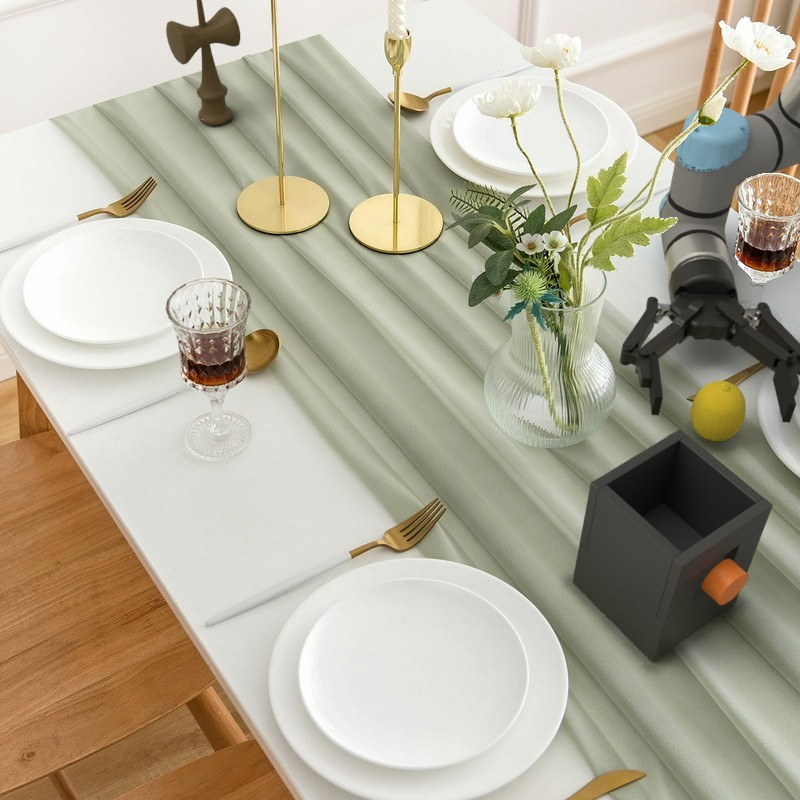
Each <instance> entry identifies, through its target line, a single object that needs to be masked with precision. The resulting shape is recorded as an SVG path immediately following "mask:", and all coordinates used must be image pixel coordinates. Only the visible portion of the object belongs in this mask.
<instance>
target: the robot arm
mask: <svg viewBox="0 0 800 800" xmlns="http://www.w3.org/2000/svg"><path fill="white" fill-rule="evenodd" d="M698 110H699V109H696V110H694V111H693V112H692V113H690V114H689V115H688V116H687V118H686V119H685V121H684V123H683V128H682V131H681V133H683V132H684V131H685V130H686V129H687V128H688V127H689V126H690V124H691V123H692V121H693V119H694V117H695V115H696V114H697V112H698ZM675 153H676V156H675V161H674V166H673V172H672V176H671V182H670V186H669V190H668V191H667V193H666V194H665V195H664V196H663V197H662V199H661V201H660V203H659V207H658V218H659V217H660V218H664V219H666V218H669V217H677V218H678V221H677V223H676V224H675V225H674V226H672V227H670V228H669V229H668V230H667V231H665V232H664V233H662V234H660V238H661V245H662V251H663V257H664V265H665V269H666V270H665V271H666V278H667V286H668V294H669V301H670V304H668V303H660V302H659V299H658V298H657V297H656V296H648V297H647V299H646V304H645V308H644V312H643V313H642V315H641V317H640V318H639V320H638V321H637V323H636V324H635V326H634V327H633V328H632V330H631V331H630V333H629V334H628V335H627V337H626V338H625V340H624V341H623V343H622V345H621V351H620V356H619V364H620V365H622V366H629V365H630V364H631V365H633V366H635V370H634V373H635V374H636V375H637V377H638V380H637V381H638V385H639V386H640V388H646V389H648V394H649V403H650V412H651V416H660V411H661V408H662V403H663V399H664V394H663V387H662V376H661V369H660V361H659V359H660V358H662V357H663V356H665V354H667V353H668V352H669V351H670V350H672V349H673V348H674V347H675V346H676V345H677V344H679V345H681V344H682V343H684V342H685V341H686V340H687V339H688V338H690V337H691V338H693V340H700V341H701V340H711V341H719V342H721V341H723V340H724V341H725V342H727V343H728V344H729V345H731V346H732V347H734V348H736V347H739V348H741V349H742V350H743V351H744V352H746V353H747V354H749V355H750V356H752V357H753V358H754V359H755V360H757V361H758V362H760V363H761V364H762V365H764V366H765V367H766V368H768V369H769V370H771V371H772V372H773V376H772V381H773V386H774V391H775V395H776V400H777V403H778V408H779V412H780V418H781V423H791V420H792V418H793V415H794V413H795V409H796V407H797V402H796V394H797V392H798V389H799V386H800V379H799V376H800V341H798V340H797V339H796V338H795V337H794V336H793V334H792V333H790V331H789V330H788V329H787V328H786V327H785V326H784V325H783V324H782V323H781V322H780V321H779V320H778V319H777V318H776V316H774V315H773V312H772V310H771V307H770V305H769V304H768V303H766V302H765V301H764V302H762V301H761V302H758V303H757V306H756V307H752V308H749V307H747V308H745V307H744V306H743V305H742V304H741V303H740V301H739V296H738V289H737V285H736V279H735V276H734V270H733V266H732V262H731V261H732V260H731V256H730V254H729V247H728V242H727V238H726V225H727V222H728V221H727V220H728V217H729V213H730V209H731V207H732V203H733V199H734V196H735V192H736V189H737V188H738V186H741V185H742V184H741V183H742V182H743V181H744V180H745V179H746V178H749V177H751V176H755V175H758V174H762V173H771V174H773V173H776V172H779V171H782V170H785V169H788V168H790V167H793V166H796V165H799V164H800V63H799V64H798V65H797V66H796V68H795V70H794V71H793V73H792V74H791V76H790V78H789V79H788V80H787V82H786V83H785V85H784V86H783V88H782V89H781V90H780V92H779V93H778V95H777V96H776V97H775V98H774V100H773V102H772V103H771V104H770V105H769V106H768V107H767V108H764V109H762V110H759V111H756V112H753V113H750V114H748V115H745V116H744V115H743V114H742V113H740V112H738V111H737V110H733V109H731V108H728V107H723V109H722V113H721V115H720V117H719V119H718V121H717V123H716V124H714V125H711V126H698V127H697V128H696V129H695V130H694V131H692V132H691V133H690V134H689V135H688V137H687V138H686V139H685V140H684V141H683V142H682V143H681V144H680V145H679V146H678V147H677V146H676V149H675ZM740 184H741V185H740ZM665 317H668V319H669V321H671V323H670V324H668V325H667V326H666V327H665V328H663V329H662V330H661V331H659V333H657V334H656V335H655V336H653V338H651V339H649V340H648V341H647V342H646V340H647V339H648V337H649V336H650V334H651V333H652V331H653V329H654V327H655V324H656V325H658V324H659V323H660V321H662V320H663V319H664V318H665ZM645 342H646V343H645Z"/></svg>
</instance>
